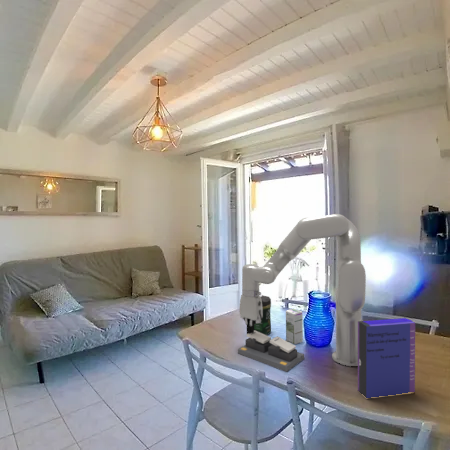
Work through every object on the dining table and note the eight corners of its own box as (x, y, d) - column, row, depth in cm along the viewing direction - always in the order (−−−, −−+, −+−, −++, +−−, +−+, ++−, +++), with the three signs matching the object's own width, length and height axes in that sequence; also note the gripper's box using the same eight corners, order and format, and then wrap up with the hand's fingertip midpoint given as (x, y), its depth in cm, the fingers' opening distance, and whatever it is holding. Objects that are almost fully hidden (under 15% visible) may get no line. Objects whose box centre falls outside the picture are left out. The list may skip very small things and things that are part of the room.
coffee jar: (264, 338, 149) (264, 300, 148) (250, 334, 154) (250, 297, 153) (273, 332, 157) (273, 295, 156) (260, 328, 161) (259, 293, 161)
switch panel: (304, 358, 127) (304, 342, 127) (286, 371, 117) (286, 354, 117) (257, 343, 144) (257, 328, 143) (238, 353, 133) (237, 337, 133)
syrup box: (303, 341, 144) (303, 311, 144) (294, 344, 141) (293, 313, 141) (294, 337, 149) (294, 308, 149) (285, 340, 146) (285, 310, 146)
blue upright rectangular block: (404, 385, 107) (404, 317, 106) (414, 393, 102) (415, 322, 101) (357, 391, 104) (357, 320, 103) (366, 399, 99) (366, 325, 98)
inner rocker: (295, 348, 125) (295, 345, 125) (288, 353, 121) (288, 350, 121) (276, 338, 131) (277, 336, 131) (269, 342, 127) (269, 340, 127)
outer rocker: (270, 339, 133) (271, 337, 133) (263, 343, 129) (263, 341, 129) (254, 332, 139) (254, 330, 139) (246, 336, 135) (246, 333, 135)
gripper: (269, 294, 134) (269, 335, 135) (242, 288, 144) (242, 326, 145) (259, 297, 129) (258, 340, 129) (232, 291, 139) (232, 331, 139)
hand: (250, 333), depth 137 cm, fingers closed
